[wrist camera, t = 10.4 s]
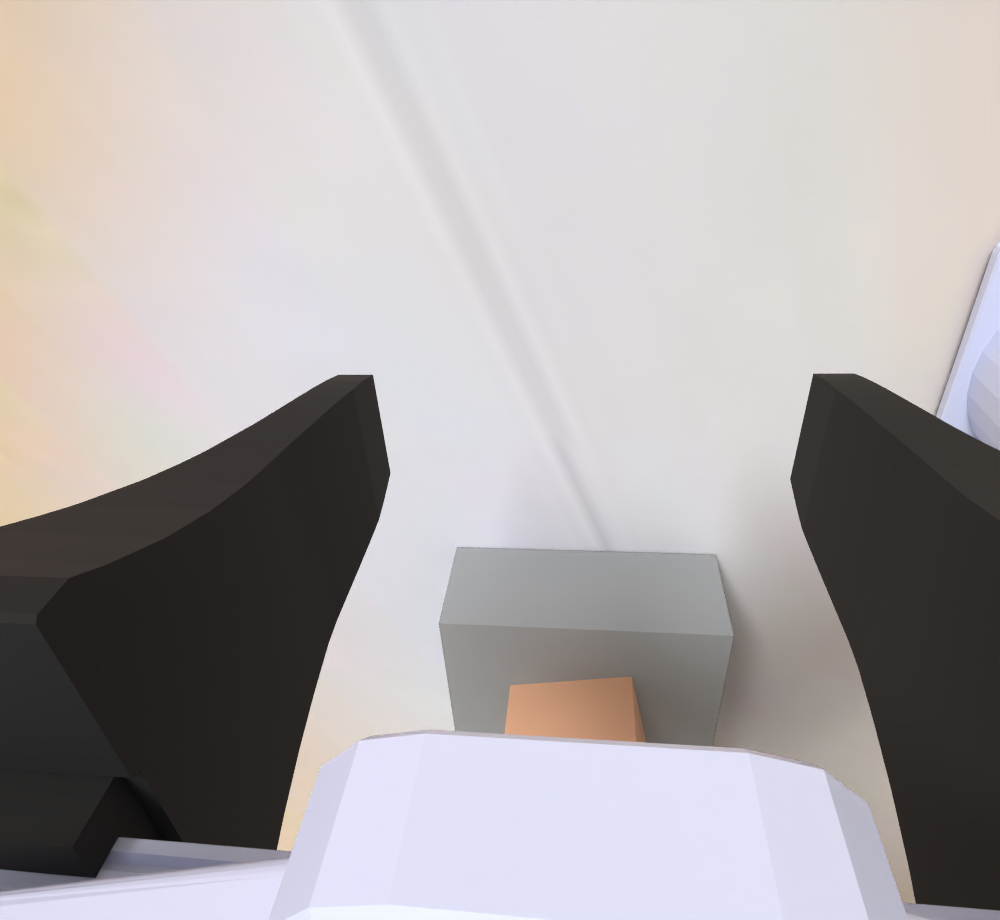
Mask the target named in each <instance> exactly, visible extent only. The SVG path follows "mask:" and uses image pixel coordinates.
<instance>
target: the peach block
mask: <svg viewBox="0 0 1000 920" xmlns="http://www.w3.org/2000/svg"><path fill="white" fill-rule="evenodd" d="M505 734H511V735H528V736H545V737H561V738H578V739H595V740H611V741H628V742H645V743H646V738H645V734H644V729H643V725H642V720H641V716H640V711H639V706H638V702H637V697H636V693H635V688H634V684H633V679H632V676H631V677H617V678H604V679H590V680H576V681H562V682H549V683H535V684H521V685H510V690H509V699H508V708H507V717H506V725H505Z"/></svg>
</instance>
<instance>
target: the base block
mask: <svg viewBox="0 0 1000 920" xmlns="http://www.w3.org/2000/svg"><path fill="white" fill-rule="evenodd" d="M439 628H440V634H441V641H442V647H443V654H444V660H445V667H446V673H447V680H448V687H449V693H450V700H451V706H452V713H453V719H454V726H455V731H462V732H478V733H495V734H505V725H506V717H507V708H508V699H509V690H510V685H521V684H535V683H549V682H562V681H576V680H590V679H604V678H617V677H631V676H632V679H633V684H634V688H635V693H636V697H637V702H638V706H639V711H640V716H641V720H642V725H643V729H644V734H645V738H646V743H661V744H678V745H694V746H711V747H712V746H713V741H714V736H715V731H716V725H717V720H718V715H719V710H720V705H721V700H722V694H723V689H724V684H725V679H726V674H727V668H728V663H729V658H730V653H731V648H732V642H733V637H734V634H733V630H732V625H731V621H730V616H729V612H728V607H727V603H726V598H725V594H724V589H723V585H722V580H721V576H720V571H719V567H718V562H717V558H716V555H706V554H671V553H636V552H601V551H567V550H532V549H497V548H462V547H457V549H456V553H455V557H454V562H453V566H452V570H451V574H450V578H449V583H448V587H447V591H446V595H445V599H444V604H443V608H442V612H441V616H440V620H439Z"/></svg>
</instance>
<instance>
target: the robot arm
mask: <svg viewBox="0 0 1000 920" xmlns="http://www.w3.org/2000/svg"><path fill="white" fill-rule="evenodd" d="M389 477H390V468H389V463H388V457H387V452H386V446H385V440H384V435H383V429H382V424H381V418H380V412H379V407H378V401H377V396H376V390H375V384H374V379H373V375H337V376H335V377H333V378H330V379H328V380H327V381H325V382H323V383H321V384H319V385H318V386H316V387H314V388H312V389H311V390H309V391H307V392H306V393H304V394H302V395H301V396H299V397H298V398H296V399H294V400H293V401H291V402H289V403H288V404H286V405H285V406H283V407H281V408H280V409H278V410H276V411H275V412H273V413H272V414H270V415H268V416H267V417H265V418H263V419H262V420H260V421H258V422H257V423H255V424H253V425H252V426H250V427H248V428H246V429H244V430H243V431H241V432H239V433H237V434H235V435H234V436H232V437H230V438H228V439H227V440H225V441H223V442H221V443H219V444H218V445H216V446H214V447H212V448H210V449H209V450H207V451H205V452H203V453H201V454H199V455H197V456H195V457H193V458H191V459H189V460H187V461H185V462H182V463H180V464H178V465H176V466H174V467H171V468H169V469H167V470H165V471H162V472H160V473H158V474H156V475H153V476H151V477H149V478H146V479H144V480H142V481H139V482H136V483H134V484H131V485H128V486H126V487H123V488H120V489H117V490H115V491H112V492H109V493H107V494H104V495H101V496H98V497H96V498H93V499H90V500H87V501H85V502H82V503H79V504H76V505H73V506H70V507H67V508H63V509H60V510H57V511H54V512H50V513H47V514H44V515H41V516H37V517H34V518H30V519H26V520H23V521H19V522H16V523H12V524H8V525H5V526H1V527H0V920H1000V242H999V243H998V244H997V245H996V246H995V248H994V250H993V252H992V254H991V257H990V260H989V263H988V266H987V269H986V272H985V275H984V278H983V281H982V283H981V286H980V289H979V292H978V295H977V298H976V301H975V304H974V307H973V310H972V313H971V316H970V318H969V321H968V324H967V327H966V330H965V333H964V336H963V339H962V342H961V345H960V348H959V351H958V354H957V356H956V359H955V362H954V365H953V368H952V371H951V374H950V377H949V380H948V383H947V386H946V389H945V391H944V394H943V397H942V400H941V403H940V406H939V409H938V412H937V415H936V417H935V416H934V415H932V414H930V413H928V412H926V411H925V410H923V409H921V408H919V407H918V406H916V405H914V404H912V403H911V402H909V401H907V400H905V399H904V398H902V397H900V396H898V395H896V394H895V393H893V392H891V391H889V390H887V389H886V388H884V387H882V386H880V385H878V384H876V383H874V382H872V381H870V380H868V379H866V378H864V377H861V376H859V375H856V374H813V378H812V383H811V387H810V392H809V396H808V401H807V406H806V410H805V415H804V419H803V424H802V428H801V433H800V437H799V442H798V447H797V451H796V456H795V460H794V465H793V469H792V474H791V479H790V480H791V484H792V489H793V493H794V498H795V502H796V507H797V511H798V515H799V518H800V522H801V526H802V530H803V532H804V535H805V537H806V540H807V542H808V545H809V547H810V550H811V552H812V555H813V557H814V560H815V562H816V564H817V567H818V569H819V572H820V574H821V576H822V579H823V581H824V584H825V586H826V588H827V591H828V593H829V595H830V598H831V600H832V603H833V605H834V607H835V610H836V612H837V614H838V617H839V619H840V621H841V624H842V626H843V629H844V631H845V633H846V636H847V638H848V640H849V643H850V646H851V649H852V651H853V654H854V657H855V660H856V662H857V665H858V668H859V671H860V675H861V678H862V682H863V685H864V689H865V692H866V696H867V699H868V703H869V707H870V710H871V714H872V717H873V721H874V724H875V728H876V732H877V736H878V740H879V743H880V747H881V751H882V755H883V759H884V763H885V767H886V771H887V775H888V778H889V782H890V786H891V790H892V795H893V799H894V804H895V808H896V812H897V817H898V821H899V826H900V830H901V834H902V839H903V843H904V848H905V852H906V856H907V861H908V865H909V870H910V876H911V881H912V886H913V891H914V896H915V901H916V904H914V903H902V900H901V897H900V894H899V891H898V888H897V885H896V883H895V880H894V877H893V874H892V871H891V868H890V865H889V862H888V859H887V856H886V853H885V850H884V847H883V845H882V842H881V839H880V836H879V833H878V830H877V827H876V824H875V821H874V818H873V815H872V812H871V810H870V807H869V804H868V803H867V802H865V801H864V800H863V799H861V798H860V797H859V796H857V795H856V794H855V793H854V792H852V791H851V790H850V789H848V788H847V787H846V786H844V785H843V784H842V783H840V782H839V781H838V780H836V779H835V778H834V777H833V776H831V775H830V774H829V773H827V772H826V771H825V770H823V769H821V768H819V767H817V766H815V765H813V764H810V763H807V762H803V761H798V760H794V759H789V758H785V757H780V756H776V755H771V754H767V753H762V752H758V751H753V750H749V749H744V748H728V747H711V746H694V745H678V744H661V743H645V742H628V741H611V740H595V739H578V738H561V737H545V736H528V735H511V734H495V733H478V732H462V731H445V730H421V731H412V732H403V733H394V734H385V735H376V736H370V737H368V738H365V739H362V740H360V741H358V742H357V743H355V744H354V745H352V746H351V747H349V748H348V749H346V750H345V751H343V752H342V753H340V754H339V755H337V756H336V757H335V758H333V759H332V760H330V761H329V762H327V763H326V764H324V765H323V766H321V768H320V771H319V774H318V777H317V779H316V782H315V785H314V788H313V791H312V794H311V797H310V800H309V803H308V806H307V809H306V811H305V814H304V817H303V820H302V823H301V826H300V829H299V832H298V835H297V838H296V840H295V843H294V846H293V849H292V851H280V850H277V846H278V841H279V836H280V831H281V826H282V822H283V817H284V812H285V808H286V804H287V800H288V795H289V791H290V787H291V782H292V778H293V774H294V770H295V765H296V761H297V757H298V753H299V748H300V745H301V741H302V737H303V733H304V729H305V726H306V722H307V718H308V714H309V710H310V707H311V703H312V699H313V695H314V692H315V688H316V685H317V681H318V678H319V674H320V671H321V667H322V664H323V661H324V657H325V654H326V650H327V647H328V644H329V641H330V638H331V635H332V632H333V630H334V627H335V624H336V621H337V619H338V617H339V614H340V612H341V609H342V607H343V605H344V602H345V600H346V598H347V595H348V593H349V590H350V588H351V586H352V583H353V581H354V579H355V576H356V574H357V572H358V569H359V567H360V564H361V562H362V560H363V557H364V555H365V553H366V550H367V548H368V545H369V543H370V540H371V538H372V536H373V533H374V531H375V528H376V526H377V523H378V520H379V517H380V513H381V510H382V506H383V502H384V498H385V494H386V490H387V485H388V481H389Z"/></svg>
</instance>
